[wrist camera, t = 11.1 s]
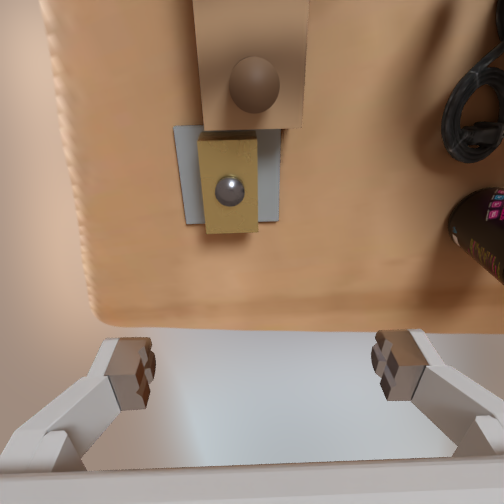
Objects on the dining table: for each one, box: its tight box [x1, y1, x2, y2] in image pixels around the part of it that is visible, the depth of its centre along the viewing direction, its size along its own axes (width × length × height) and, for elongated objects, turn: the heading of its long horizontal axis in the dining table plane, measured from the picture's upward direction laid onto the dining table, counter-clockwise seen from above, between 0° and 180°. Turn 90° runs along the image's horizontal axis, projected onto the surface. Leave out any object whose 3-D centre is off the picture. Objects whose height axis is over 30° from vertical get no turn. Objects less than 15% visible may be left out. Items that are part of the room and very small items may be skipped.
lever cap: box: [197, 131, 258, 234], centre depth 28 cm, size 8×5×4 cm, turn 1°
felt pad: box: [173, 125, 281, 224], centre depth 30 cm, size 9×9×1 cm
